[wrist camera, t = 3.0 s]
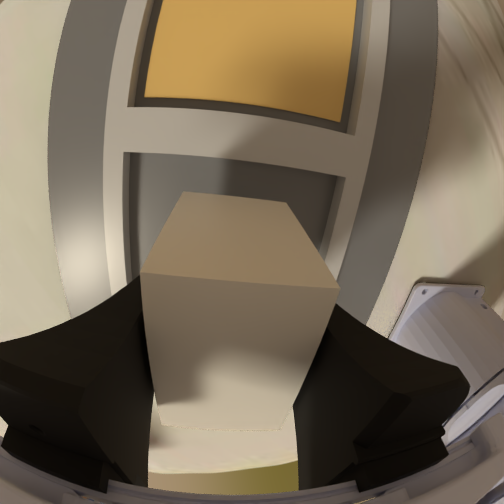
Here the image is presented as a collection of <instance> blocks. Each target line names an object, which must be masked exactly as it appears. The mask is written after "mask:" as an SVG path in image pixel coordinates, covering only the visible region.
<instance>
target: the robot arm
mask: <svg viewBox="0 0 504 504" xmlns="http://www.w3.org/2000/svg"><path fill="white" fill-rule="evenodd" d="M484 292H485V287H483V286H482V285H456V284H433V283H418V284H416V285H415V286H414V287H413V289H412V292H411V294H410V296H409V298H408V300H407V302H406V305H405V307H404V309H403V311H402V313H401V315H400V317H399V319H398V321H397V323H396V325H395V327H394V329H393V331H392V332H391V334H390V336H389V338H388V339H387V338H385V337H384V336H382V335H380V334H378V333H377V332H375V331H374V330H372V329H371V328H369V327H367V326H366V325H364V324H363V323H361V322H360V321H358V320H357V319H356V318H354V317H353V316H352V315H350V314H349V313H348V312H346V311H345V310H344V309H343V308H341V307H340V306H339V305H338V304H336V303H335V305H334V308H333V311H332V314H331V316H330V319H329V322H328V324H327V327H326V329H325V332H324V334H323V337H322V339H321V342H320V344H319V347H318V349H317V352H316V354H315V356H314V359H313V361H312V364H311V366H310V368H309V370H308V373H307V375H306V377H305V379H304V382H303V384H302V386H301V388H300V390H299V393H298V395H297V397H296V399H295V401H294V403H293V411H294V419H295V429H296V439H297V453H298V476H299V491H292V492H282V493H271V494H254V495H212V494H195V493H182V492H174V491H166V490H159V489H153V488H148V451H149V434H150V423H151V413H152V404H153V396H154V386H153V381H152V375H151V369H150V362H149V356H148V349H147V341H146V334H145V325H144V316H143V306H142V295H141V281H140V275H139V276H137V277H136V278H135V279H134V280H133V281H131V282H130V283H129V284H128V285H126V286H125V287H123V288H122V289H121V290H119V291H118V292H117V293H115V294H114V295H112V296H111V297H110V298H108V299H107V300H105V301H104V302H102V303H100V304H99V305H97V306H95V307H94V308H92V309H90V310H88V311H87V312H85V313H83V314H81V315H79V316H77V317H75V318H72V319H70V320H68V321H66V322H64V323H62V324H60V325H57V326H55V327H52V328H50V329H47V330H44V331H41V332H38V333H35V334H32V335H29V336H25V337H22V338H18V339H14V340H10V341H6V342H1V343H0V416H1V417H2V418H3V420H4V421H5V422H6V423H7V424H8V428H7V430H6V433H5V435H4V438H3V437H2V436H0V504H100V503H97V502H94V501H91V500H89V499H92V500H95V501H98V502H102V503H105V504H354V503H358V502H361V501H364V500H368V499H371V498H374V497H375V498H374V499H371V500H369V501H366V502H363V503H360V504H504V321H503V319H501V317H500V316H499V315H498V314H497V313H496V312H495V311H494V310H493V309H492V308H491V307H490V306H489V305H488V304H487V303H486V302H485V301H484V300H483V299H482V296H483V294H484ZM82 496H83V497H82ZM84 497H86V498H89V499H86V498H84Z"/></svg>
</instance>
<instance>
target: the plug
mask: <svg viewBox="0 0 504 504" xmlns="http://www.w3.org/2000/svg"><path fill="white" fill-rule="evenodd" d="M140 281H141V295H142V306H143V316H144V325H145V334H146V341H147V349H148V356H149V362H150V369H151V375H152V381H153V386H154V392H155V397H156V402H157V407H158V411H159V416H160V421H161V425H164V426H172V427H181V428H191V429H204V430H222V431H274V430H280V429H281V427H282V426H283V424H284V422H285V420H286V418H287V416H288V414H289V412H290V409H291V407H292V405H293V403H294V401H295V399H296V397H297V395H298V393H299V390H300V388H301V386H302V384H303V382H304V379H305V377H306V375H307V373H308V370H309V368H310V366H311V364H312V361H313V359H314V356H315V354H316V352H317V349H318V347H319V344H320V342H321V339H322V337H323V334H324V332H325V329H326V327H327V324H328V322H329V319H330V316H331V314H332V311H333V308H334V305H335V303H336V300H337V297H338V294H339V291H340V289H341V288H340V287H339V285H338V283H337V282H336V280H335V278H334V277H333V275H332V273H331V272H330V270H329V268H328V267H327V265H326V264H325V262H324V260H323V259H322V257H321V256H320V254H319V252H318V251H317V249H316V248H315V246H314V244H313V243H312V241H311V240H310V238H309V237H308V235H307V233H306V232H305V230H304V229H303V227H302V226H301V224H300V223H299V221H298V220H297V218H296V217H295V215H294V214H293V212H292V211H291V209H290V208H289V206H288V205H287V203H286V202H278V201H270V200H262V199H254V198H245V197H236V196H227V195H217V194H207V193H196V192H185V191H183V193H182V195H181V196H180V198H179V200H178V201H177V203H176V205H175V207H174V208H173V210H172V212H171V214H170V216H169V217H168V219H167V221H166V223H165V225H164V226H163V228H162V230H161V232H160V234H159V236H158V238H157V239H156V241H155V243H154V245H153V247H152V249H151V251H150V253H149V255H148V257H147V259H146V261H145V263H144V265H143V267H142V269H141V271H140Z"/></svg>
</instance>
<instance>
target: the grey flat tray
mask: <svg viewBox="0 0 504 504" xmlns="http://www.w3.org/2000/svg"><path fill="white" fill-rule="evenodd" d="M437 47H438V4H437V0H71V3H70V6H69V9H68V12H67V16H66V19H65V23H64V27H63V30H62V35H61V39H60V43H59V48H58V53H57V58H56V63H55V69H54V76H53V82H52V90H51V99H50V110H49V125H48V185H49V200H50V211H51V220H52V229H53V236H54V243H55V249H56V255H57V261H58V266H59V271H60V276H61V281H62V285H63V289H64V294H65V298H66V302H67V306H68V309H69V313H70V317H71V319H72V318H75V317H77V316H79V315H81V314H83V313H85V312H87V311H88V310H90V309H92V308H94V307H95V306H97V305H99V304H100V303H102V302H104V301H105V300H107V299H108V298H110V297H111V296H112V295H114V294H115V293H117V292H118V291H119V290H121V289H122V288H123V287H125V286H126V285H128V284H129V283H130V282H131V281H133V280H134V279H135V278H136V277H137V276H139V275H140V271H141V269H142V267H143V265H144V263H145V261H146V259H147V257H148V255H149V253H150V251H151V249H152V247H153V245H154V243H155V241H156V239H157V238H158V236H159V234H160V232H161V230H162V228H163V226H164V225H165V223H166V221H167V219H168V217H169V216H170V214H171V212H172V210H173V208H174V207H175V205H176V203H177V201H178V200H179V198H180V196H181V195H182V193H183V191H185V192H196V193H207V194H217V195H227V196H236V197H245V198H254V199H262V200H270V201H278V202H286V203H287V205H288V206H289V208H290V209H291V211H292V212H293V214H294V215H295V217H296V218H297V220H298V221H299V223H300V224H301V226H302V227H303V229H304V230H305V232H306V233H307V235H308V237H309V238H310V240H311V241H312V243H313V244H314V246H315V248H316V249H317V251H318V252H319V254H320V256H321V257H322V259H323V260H324V262H325V264H326V265H327V267H328V268H329V270H330V272H331V273H332V275H333V277H334V278H335V280H336V282H337V283H338V285H339V287H340V288H341V289H340V291H339V294H338V297H337V300H336V304H338V305H339V306H340V307H341V308H343V309H344V310H345V311H346V312H348V313H349V314H350V315H352V316H353V317H354V318H356V319H357V320H358V321H360V322H361V323H363V324H364V325H366V323H367V321H368V319H369V317H370V315H371V312H372V310H373V308H374V306H375V303H376V301H377V299H378V296H379V294H380V291H381V289H382V287H383V284H384V282H385V279H386V276H387V274H388V271H389V269H390V266H391V263H392V261H393V258H394V255H395V252H396V250H397V247H398V244H399V241H400V238H401V235H402V232H403V229H404V226H405V222H406V219H407V216H408V213H409V209H410V206H411V202H412V199H413V195H414V191H415V188H416V184H417V180H418V176H419V172H420V168H421V163H422V159H423V154H424V149H425V144H426V139H427V134H428V129H429V123H430V117H431V110H432V103H433V95H434V87H435V77H436V65H437Z"/></svg>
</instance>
